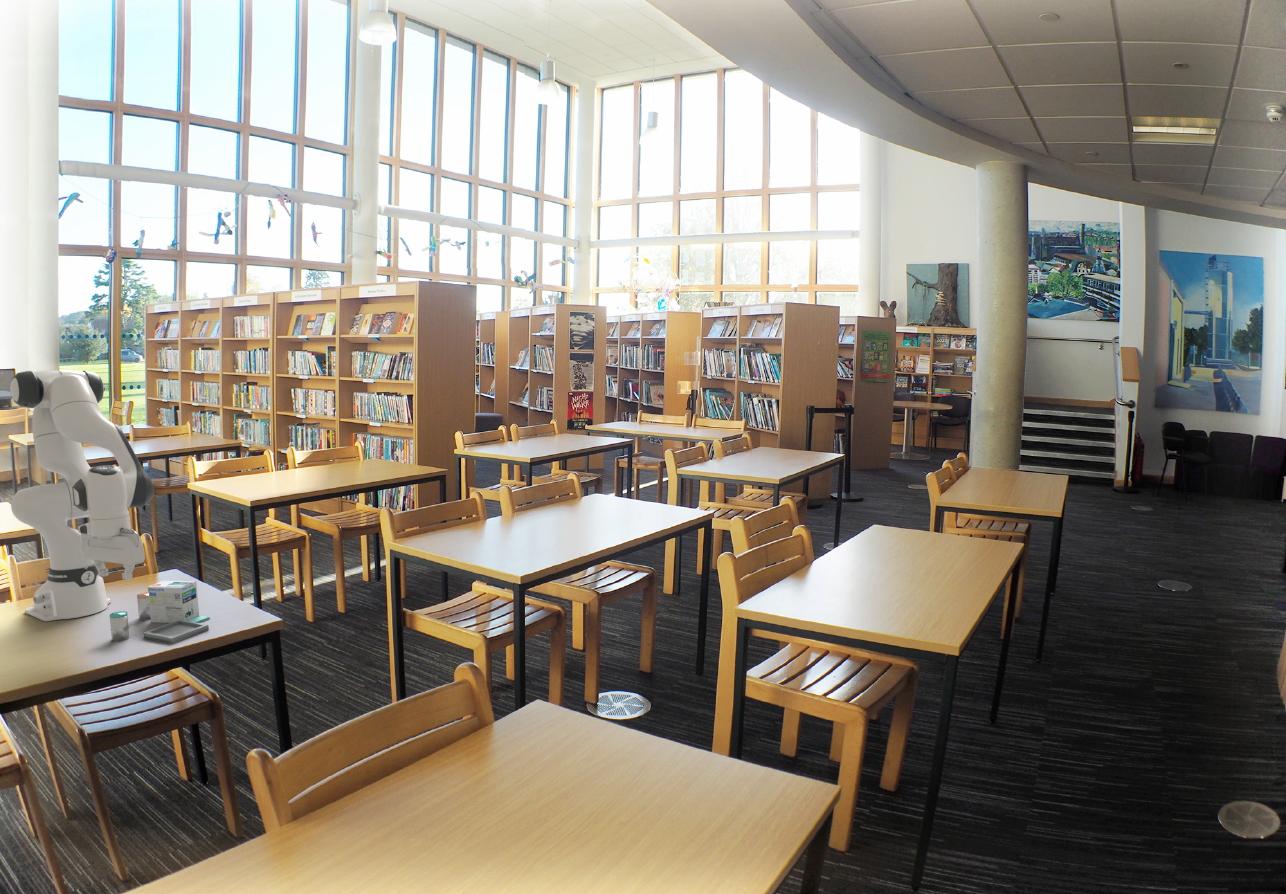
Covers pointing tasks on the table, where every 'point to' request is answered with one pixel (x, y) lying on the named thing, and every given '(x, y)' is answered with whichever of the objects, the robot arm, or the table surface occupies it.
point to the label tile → (199, 619)
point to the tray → (176, 631)
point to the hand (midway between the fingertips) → (115, 577)
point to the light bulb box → (173, 601)
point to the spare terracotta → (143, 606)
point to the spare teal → (119, 626)
